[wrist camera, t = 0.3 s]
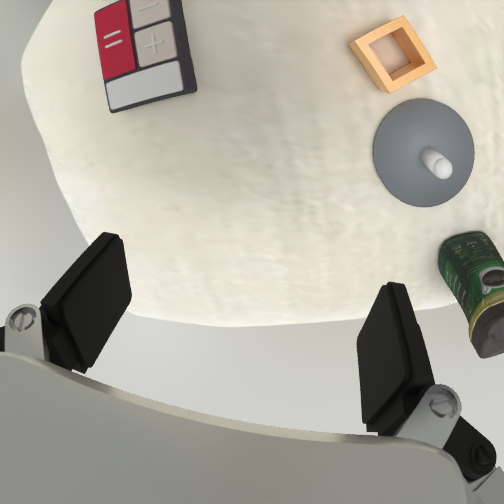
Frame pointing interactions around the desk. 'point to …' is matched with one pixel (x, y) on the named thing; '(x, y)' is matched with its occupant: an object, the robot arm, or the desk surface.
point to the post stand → (423, 152)
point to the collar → (410, 46)
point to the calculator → (143, 52)
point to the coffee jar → (477, 288)
